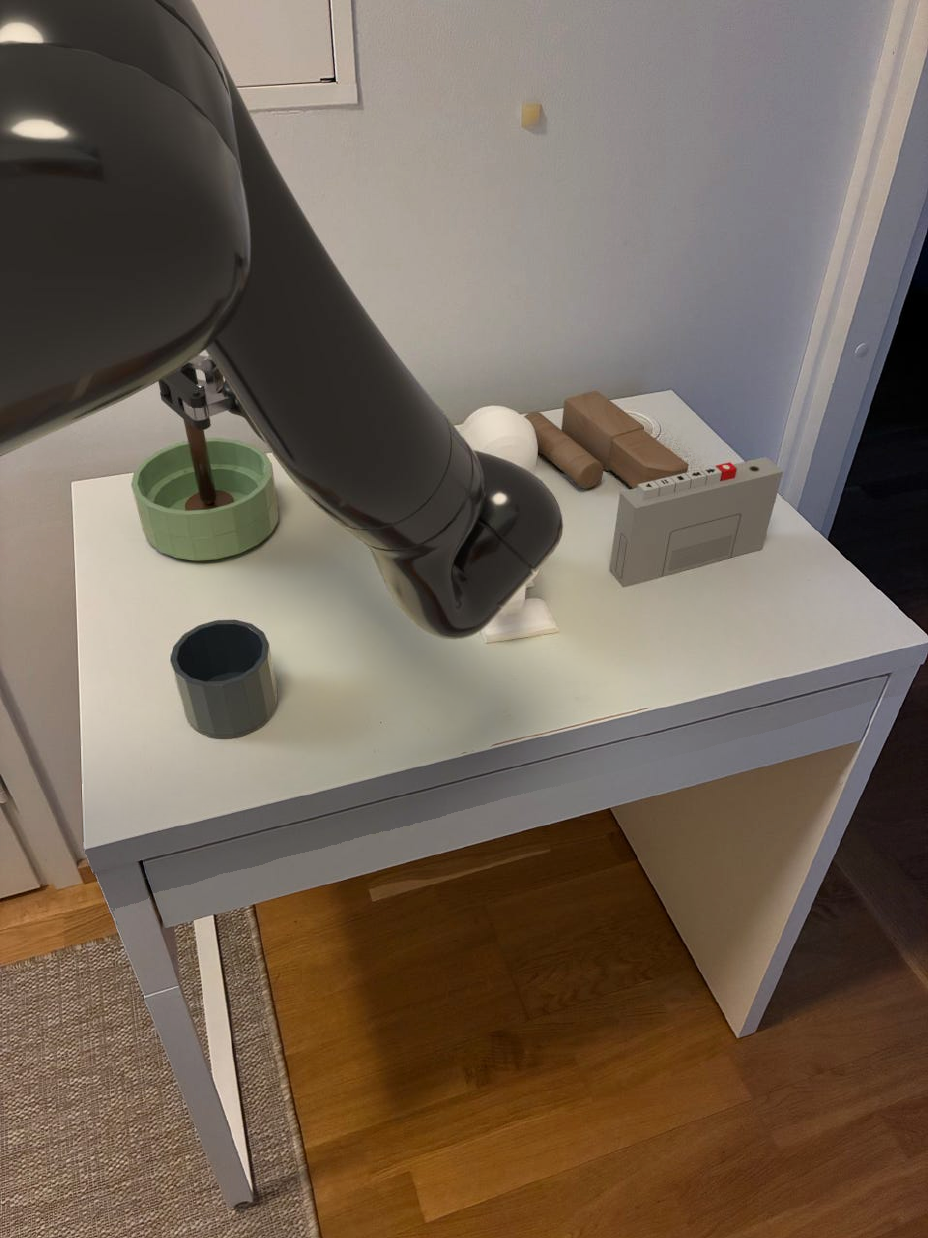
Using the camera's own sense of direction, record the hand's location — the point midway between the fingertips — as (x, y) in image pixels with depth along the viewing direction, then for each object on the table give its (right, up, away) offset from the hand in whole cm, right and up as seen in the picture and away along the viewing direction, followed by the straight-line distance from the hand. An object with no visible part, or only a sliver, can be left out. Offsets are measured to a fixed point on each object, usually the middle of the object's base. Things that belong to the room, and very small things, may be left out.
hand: (221, 333), depth 73 cm
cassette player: (+40, -16, +20) cm, 48 cm away
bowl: (-7, -12, +23) cm, 27 cm away
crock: (0, -29, +5) cm, 29 cm away
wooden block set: (+30, -7, +30) cm, 43 cm away
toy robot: (+21, -21, +14) cm, 33 cm away
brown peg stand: (-7, -12, +23) cm, 26 cm away
